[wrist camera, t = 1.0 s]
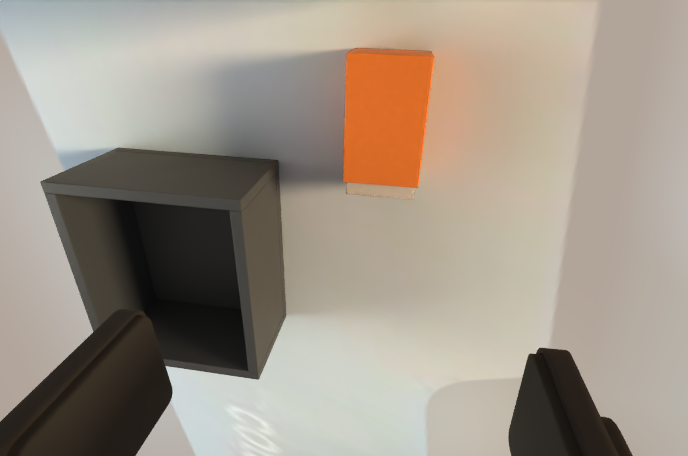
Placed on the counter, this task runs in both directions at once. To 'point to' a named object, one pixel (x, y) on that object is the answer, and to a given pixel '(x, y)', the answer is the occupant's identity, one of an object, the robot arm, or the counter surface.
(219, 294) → the trash bin
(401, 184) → the block
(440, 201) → the counter surface
